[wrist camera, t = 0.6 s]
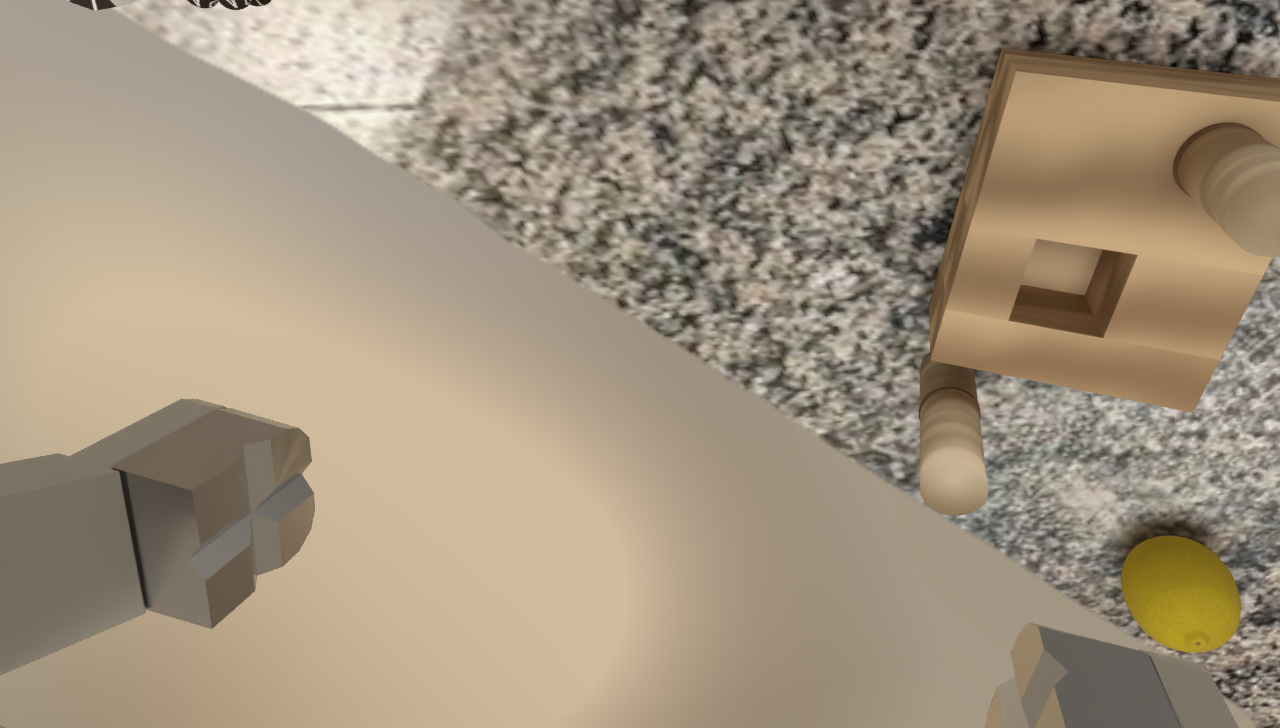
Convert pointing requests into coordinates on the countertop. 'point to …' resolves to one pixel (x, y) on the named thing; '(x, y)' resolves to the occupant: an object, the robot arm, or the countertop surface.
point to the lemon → (1181, 593)
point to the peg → (950, 439)
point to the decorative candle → (202, 0)
